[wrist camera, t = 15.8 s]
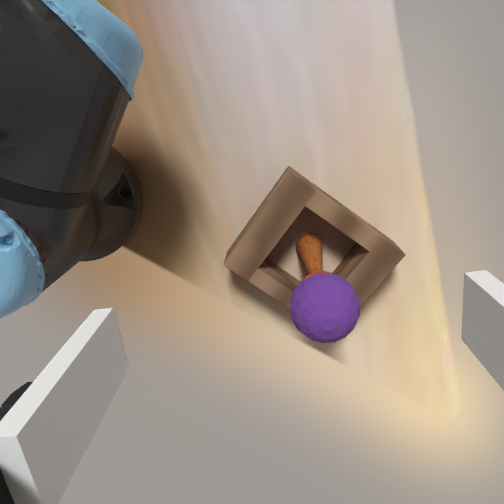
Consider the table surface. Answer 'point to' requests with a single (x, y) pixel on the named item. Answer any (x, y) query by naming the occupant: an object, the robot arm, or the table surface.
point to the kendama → (322, 297)
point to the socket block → (279, 220)
